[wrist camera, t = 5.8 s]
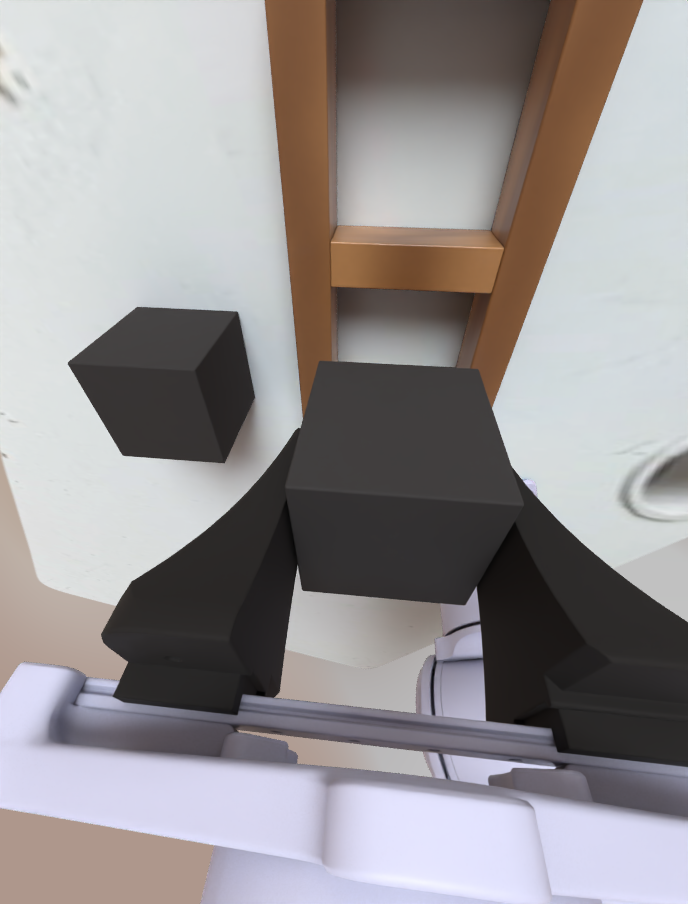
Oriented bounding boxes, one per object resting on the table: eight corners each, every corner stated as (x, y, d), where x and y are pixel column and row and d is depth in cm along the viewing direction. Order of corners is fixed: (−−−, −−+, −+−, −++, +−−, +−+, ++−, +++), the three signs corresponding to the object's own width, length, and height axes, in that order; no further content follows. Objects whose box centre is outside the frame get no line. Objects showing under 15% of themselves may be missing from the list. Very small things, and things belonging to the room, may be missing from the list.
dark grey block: (479, 367, 11) (525, 505, 8) (446, 476, 15) (465, 606, 11) (318, 359, 12) (283, 487, 8) (323, 467, 15) (301, 591, 11)
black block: (238, 311, 18) (194, 370, 14) (255, 397, 21) (224, 463, 17) (136, 306, 18) (66, 362, 14) (171, 392, 22) (122, 456, 18)
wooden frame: (650, -133, 9) (717, -194, 7) (471, 416, 21) (478, 445, 19) (274, -123, 9) (247, -177, 8) (311, 406, 21) (304, 433, 20)
